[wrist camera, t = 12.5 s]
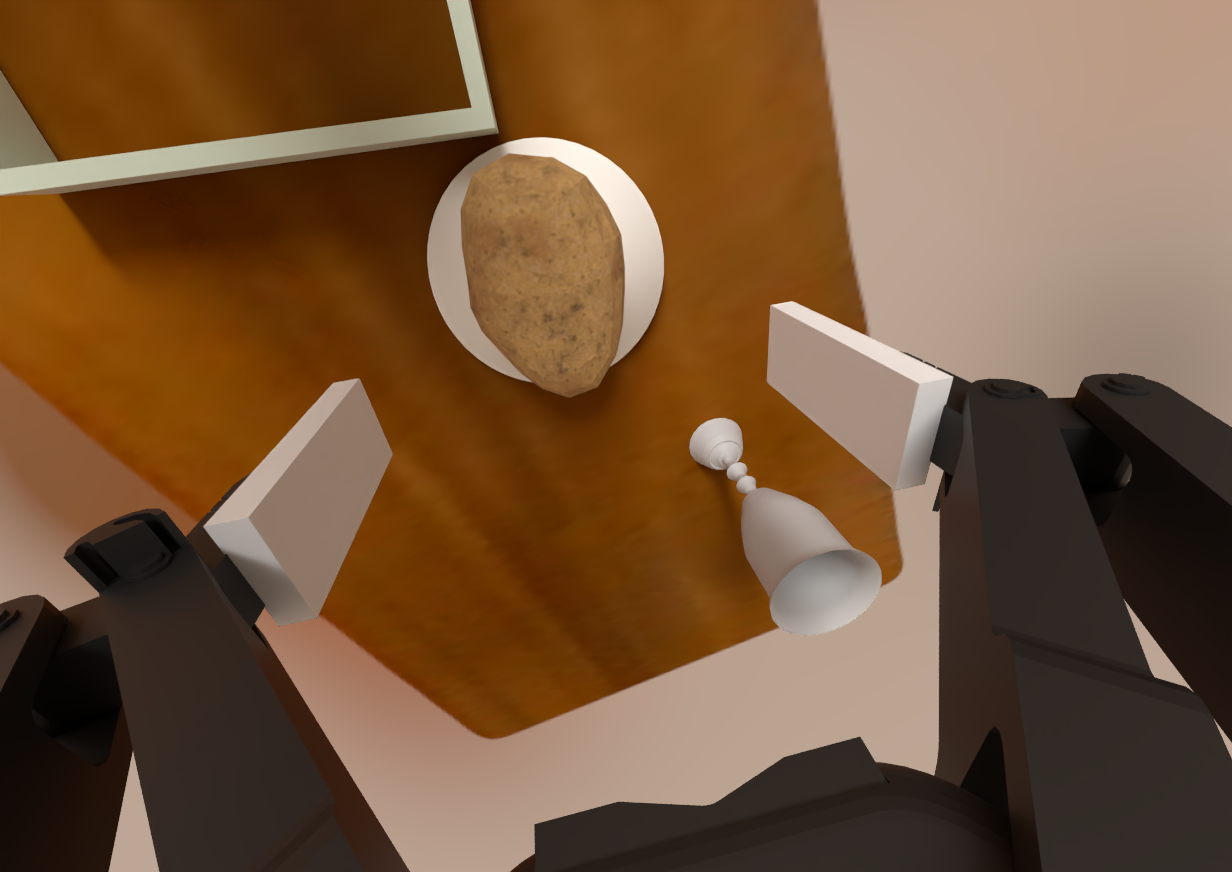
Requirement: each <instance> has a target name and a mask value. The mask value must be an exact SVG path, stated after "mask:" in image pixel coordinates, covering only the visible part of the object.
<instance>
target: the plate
mask: <svg viewBox="0 0 1232 872" xmlns="http://www.w3.org/2000/svg"><path fill="white" fill-rule="evenodd" d="M508 153H511V154H521V155H531V156H541V157H553V158H555V159H557V160H559V161H560V162H562V163H564V164H566V165H568V166H569V167H571V168H573V169H575V170H577V171H578V172H580V173H582V174H584V175H586V176H587V178H588V179H589V180H590V182H591V183H592V184H593V186H594V187H595V189H596V190H597V191H598V193H599V194H600V196H601V197H602V198H603V200H604V201H605V202H606V204H607V206H608V208H609V210H610V212H611V214H612V216H613V218H614V220H615V222H616V224H617V226H618V228H619V230H620V233H621V237H622V245H623V254H624V263H625V296H624V314H623V325H622V330H621V335H620V340H619V345H618V350H617V354H616V357H615V358H614V360H613V362H612V364H611V365H610V366H612V365H613V364H615V363H616V362H618V361H619V360H620V359H621V358H623V357H624V356H625V355H626V354H627V353H628V352H629V351H630V350H631V349H632V348H633V347H634V346H635V345H636V343H637V342H638V341H639V340H640V338H641V337H642V335H643V334H644V332H645V331H646V330H647V328H648V326H649V324H650V322H651V320H652V318H653V316H654V314H655V311H656V308H657V306H658V303H659V299H660V295H661V291H662V285H663V276H664V255H663V247H662V240H661V237H660V233H659V229H658V225H657V223H656V220H655V218H654V215H653V213H652V210H651V208H650V206H649V205H648V203H647V201H646V199H645V197H644V196H643V194H642V193H641V191H640V190H639V189H638V187H637V186H636V185H635V183H634V182H633V181H632V180H631V179H630V178H629V177H628V176H627V175H626V174H625V173H624V171H623V170H622V169H620V168H619V167H618V166H617V165H615V164H614V163H613V162H612V161H610V160H609V159H608V158H606V157H604V156H603V155H601V154H599V153H597V152H596V151H594V150H592V149H590V148H587V147H585V146H582V145H580V144H578V143H574V142H570V141H566V140H562V139H554V138H544V137H541V138H525V139H520V140H516V141H511V142H507V143H505V144H502V145H499V146H497V147H494V148H492V149H490V150H488V151H487V152H485V153H483V154H482V155H480V156H478V157H477V158H475V159H474V160H473V161H472V162H470V163H469V164H468V165H467V166H466V167H464V168H463V169H462V170H461V171H460V173H459V174H458V175H457V176H456V177H455V178H454V179H453V180H452V182H451V183H450V185H449V186H448V188H447V189H446V191H445V192H444V194H443V195H442V197H441V199H440V202H439V204H438V206H437V208H436V210H435V213H434V216H433V220H432V223H431V227H430V231H429V238H428V245H427V265H428V273H429V280H430V284H431V288H432V292H433V296H434V298H435V301H436V303H437V306H438V308H439V311H440V313H441V315H442V316H443V318H444V320H445V322H446V324H447V325H448V327H449V328H450V330H451V331H452V332H453V334H454V335H455V337H456V338H457V339H458V340H459V341H460V342H461V343H462V344H463V346H464V347H465V348H466V349H467V350H468V351H470V352H471V353H472V354H473V355H474V356H475V357H476V358H478V359H479V360H480V361H482V362H483V363H485V364H486V365H488V366H489V367H491V368H493V369H495V370H497V371H499V372H501V373H503V374H505V375H508V376H511V377H513V378H516V379H520V380H524V381H528V382H532V381H531V380H529V379H528V378H526V377H525V376H524V375H522V374H521V373H520V372H519V371H518V370H517V369H516V368H515V367H514V366H513V365H512V363H511V362H510V361H509V360H508V359H507V358H506V357H505V356H504V355H503V354H502V353H501V352H500V351H499V350H498V349H497V347H496V346H495V345H494V344H493V343H492V342H491V341H490V340H489V339H488V338H487V337H486V336H485V334H484V333H483V332H482V331H481V329H480V327H479V324H478V322H477V320H476V318H475V316H474V314H473V312H472V310H471V308H470V299H469V290H468V282H467V275H466V269H465V263H464V257H463V251H462V239H461V207H462V204H463V201H464V198H465V195H466V192H467V189H468V186H469V183H470V180H471V177H472V174H473V173H475V172H477V171H479V170H480V169H482V168H484V167H486V166H487V165H489V164H491V163H493V162H494V161H496V160H498V159H500V158H501V157H503V156H505V155H507V154H508Z"/></svg>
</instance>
